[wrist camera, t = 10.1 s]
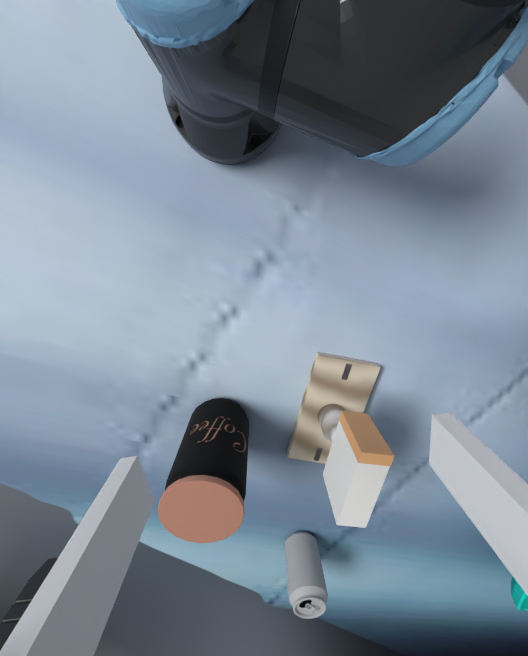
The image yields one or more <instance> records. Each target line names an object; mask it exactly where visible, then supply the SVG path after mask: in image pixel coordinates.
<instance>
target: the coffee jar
mask: <svg viewBox="0 0 528 656" xmlns="http://www.w3.org/2000/svg"><path fill="white" fill-rule="evenodd" d="M248 435H249V421H248V417H247V415H246V413H245V411H244V410H243V409H242V408H241V407H240V406H239V405H238V404H237V403H235V402H233V401H231V400H228V399H223V398H218V399H211V400H208V401H206V402H204V403H202V404H201V405H200V406H198V407H197V408H196V409H195V411H194V412H193V414H192V416H191V419H190V421H189V424H188V427H187V429H186V432H185V434H184V437H183V440H182V442H181V445H180V448H179V450H178V453H177V456H176V458H175V461H174V463H173V466H172V469H171V471H170V474H169V477H168V479H167V482H166V487H165V492H164V493H163V495H162V496H161V499H160V501H159V506H158V514H159V518H160V521H161V523H162V524H163V525H164V527H165V528H166V530H168V531H169V532H171V533H172V534H173V535H175V536H176V537H179V538H181V539H184V540H186V541H190V542H197V543H209V542H216V541H219V540H222V539H225V538H227V537H228V536H230V535H232V534H233V533H235V531H236V530H237V529H238V528H239V527H240V526H241V524H242V520H243V517H244V503H243V502H244V499H245V495H246V475H247V455H248Z"/></svg>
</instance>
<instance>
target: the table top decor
mask: <svg viewBox="0 0 528 656" xmlns="http://www.w3.org/2000/svg"><path fill="white" fill-rule="evenodd" d="M511 595H512V598H513V600H514V602H515V605H516V607H517V609H518V610H519V611H522V610H527V611H528V596H527V594H526V593H525V592H524V590H523V589H522V588H521V586H520V585H519V584H518V582H517V581H516V580H515V578H514V577H513V576H512V580H511Z"/></svg>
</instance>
